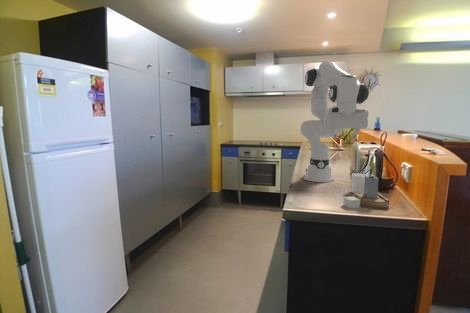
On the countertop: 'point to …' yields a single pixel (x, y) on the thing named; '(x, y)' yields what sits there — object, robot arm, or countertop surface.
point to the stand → (372, 201)
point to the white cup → (358, 183)
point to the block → (351, 202)
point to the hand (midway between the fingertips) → (344, 137)
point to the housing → (371, 187)
